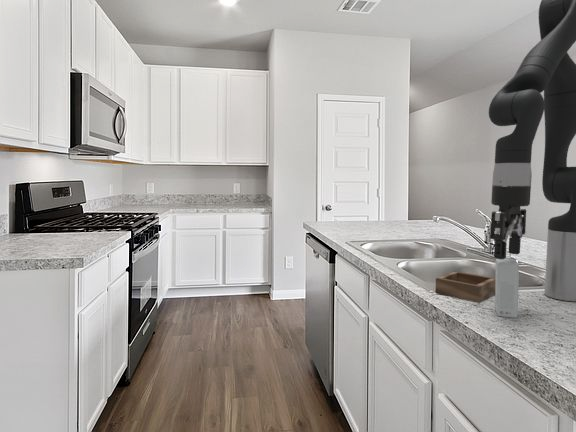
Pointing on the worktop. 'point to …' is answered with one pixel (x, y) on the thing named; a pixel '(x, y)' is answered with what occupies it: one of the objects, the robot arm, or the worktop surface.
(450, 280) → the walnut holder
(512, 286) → the skincare box
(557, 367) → the worktop surface
